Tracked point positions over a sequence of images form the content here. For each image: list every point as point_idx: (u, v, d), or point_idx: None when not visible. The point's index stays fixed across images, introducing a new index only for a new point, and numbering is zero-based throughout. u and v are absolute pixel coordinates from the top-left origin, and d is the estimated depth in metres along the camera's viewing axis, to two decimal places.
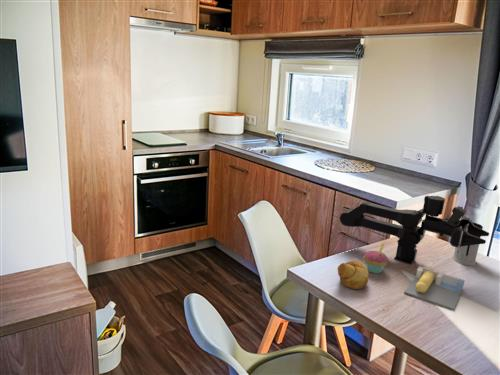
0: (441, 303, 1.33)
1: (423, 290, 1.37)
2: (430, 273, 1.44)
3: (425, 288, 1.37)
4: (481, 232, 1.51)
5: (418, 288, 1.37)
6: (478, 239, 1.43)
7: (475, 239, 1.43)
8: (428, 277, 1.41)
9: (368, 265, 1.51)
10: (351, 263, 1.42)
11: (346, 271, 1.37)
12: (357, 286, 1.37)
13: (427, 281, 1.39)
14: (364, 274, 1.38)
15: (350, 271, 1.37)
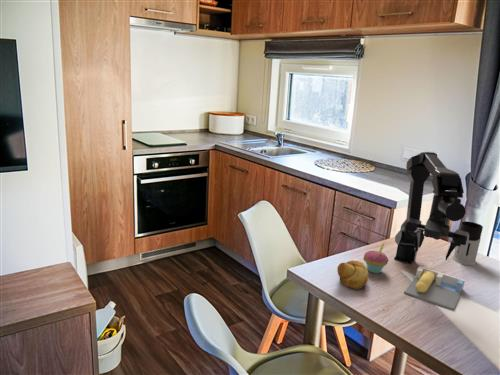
0: (441, 303, 1.33)
1: (423, 290, 1.37)
2: (430, 273, 1.44)
3: (425, 288, 1.37)
4: (447, 252, 1.36)
5: (418, 288, 1.37)
6: None
7: None
8: (428, 277, 1.41)
9: (368, 265, 1.51)
10: (351, 263, 1.42)
11: (346, 270, 1.37)
12: (356, 286, 1.37)
13: (427, 281, 1.39)
14: (364, 274, 1.38)
15: (350, 270, 1.38)
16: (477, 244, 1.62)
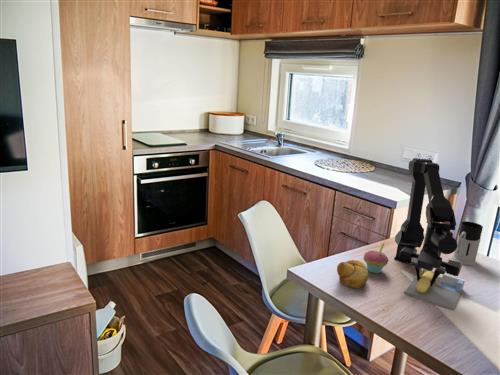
0: (441, 303, 1.33)
1: (423, 290, 1.37)
2: (430, 273, 1.44)
3: (425, 288, 1.37)
4: None
5: (418, 288, 1.37)
6: None
7: None
8: (428, 277, 1.41)
9: (368, 265, 1.51)
10: (351, 262, 1.43)
11: (345, 270, 1.38)
12: (356, 285, 1.37)
13: (427, 281, 1.39)
14: (363, 273, 1.38)
15: (349, 270, 1.38)
16: (477, 244, 1.62)
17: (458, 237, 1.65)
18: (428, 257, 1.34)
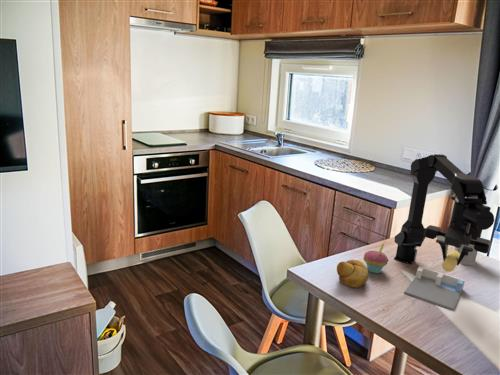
0: (441, 303, 1.33)
1: (450, 269, 1.30)
2: (456, 253, 1.38)
3: (452, 266, 1.30)
4: None
5: (445, 267, 1.31)
6: None
7: None
8: (454, 256, 1.35)
9: (368, 265, 1.51)
10: (350, 262, 1.43)
11: (345, 269, 1.38)
12: (355, 285, 1.38)
13: (454, 260, 1.33)
14: (363, 273, 1.38)
15: (349, 269, 1.38)
16: None
17: None
18: (456, 233, 1.28)
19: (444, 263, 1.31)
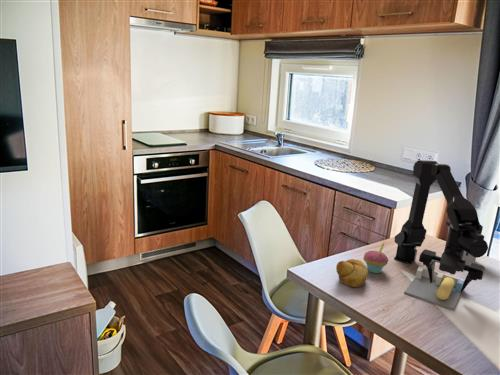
0: (441, 303, 1.33)
1: (444, 297, 1.33)
2: (450, 280, 1.41)
3: (446, 295, 1.33)
4: None
5: (439, 295, 1.34)
6: None
7: None
8: (448, 284, 1.38)
9: (368, 265, 1.51)
10: (350, 261, 1.43)
11: (344, 269, 1.38)
12: (355, 284, 1.38)
13: (448, 288, 1.36)
14: (362, 272, 1.39)
15: (348, 269, 1.39)
16: None
17: None
18: (451, 260, 1.30)
19: (438, 292, 1.34)
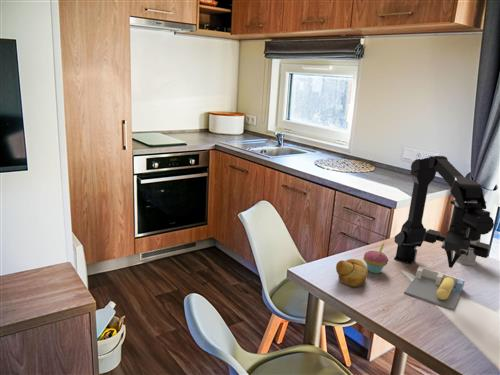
0: (441, 303, 1.33)
1: (444, 297, 1.33)
2: (450, 280, 1.41)
3: (446, 295, 1.33)
4: None
5: (439, 295, 1.34)
6: None
7: None
8: (448, 284, 1.38)
9: (368, 265, 1.51)
10: (350, 261, 1.44)
11: (344, 268, 1.39)
12: (354, 284, 1.38)
13: (448, 288, 1.36)
14: (362, 272, 1.39)
15: (348, 268, 1.39)
16: None
17: None
18: (456, 238, 1.28)
19: (438, 292, 1.34)
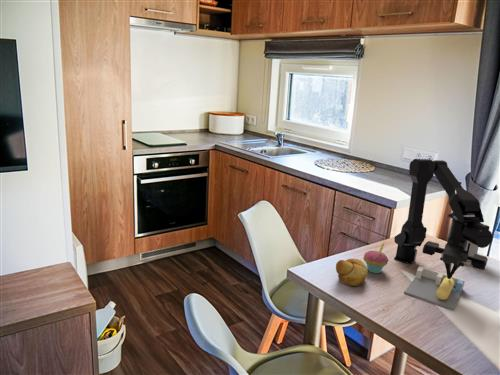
0: (441, 303, 1.33)
1: (444, 297, 1.33)
2: (450, 280, 1.41)
3: (446, 295, 1.33)
4: (450, 272, 1.40)
5: (439, 295, 1.34)
6: None
7: None
8: (448, 284, 1.38)
9: (368, 265, 1.51)
10: (350, 260, 1.44)
11: (343, 268, 1.39)
12: (354, 283, 1.39)
13: (448, 288, 1.36)
14: (361, 272, 1.39)
15: (348, 268, 1.39)
16: None
17: None
18: (454, 251, 1.32)
19: (438, 292, 1.34)
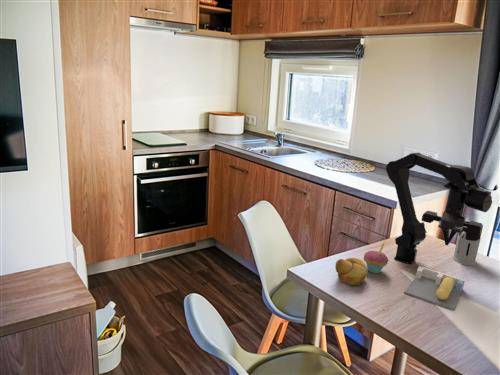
0: (441, 303, 1.33)
1: (444, 297, 1.33)
2: (450, 280, 1.41)
3: (446, 295, 1.33)
4: None
5: (439, 295, 1.34)
6: None
7: None
8: (448, 284, 1.38)
9: (368, 265, 1.51)
10: (350, 260, 1.44)
11: (343, 267, 1.40)
12: (353, 282, 1.39)
13: (448, 288, 1.36)
14: (361, 271, 1.40)
15: (347, 267, 1.40)
16: (477, 244, 1.62)
17: (458, 237, 1.65)
18: (451, 217, 1.41)
19: (438, 292, 1.34)
